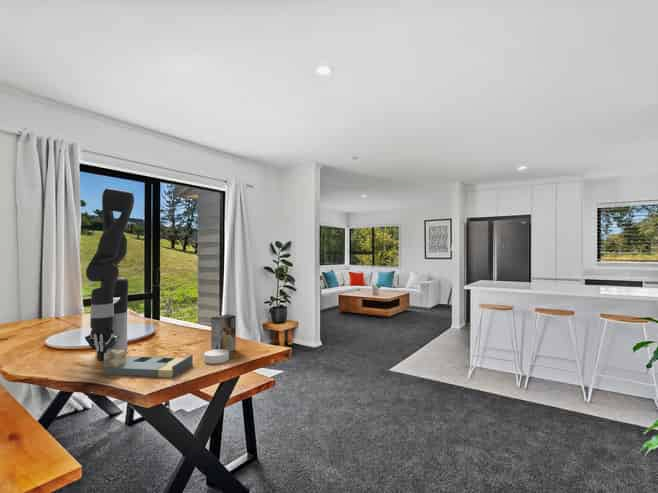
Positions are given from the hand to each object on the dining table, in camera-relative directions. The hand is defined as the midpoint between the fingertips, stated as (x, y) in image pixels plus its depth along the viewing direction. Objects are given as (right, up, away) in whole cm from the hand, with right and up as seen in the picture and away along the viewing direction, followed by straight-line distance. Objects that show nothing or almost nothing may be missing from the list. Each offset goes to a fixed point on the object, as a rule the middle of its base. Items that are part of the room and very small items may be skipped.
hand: (101, 360), depth 133 cm
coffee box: (+39, -5, +26) cm, 47 cm away
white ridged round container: (+40, -5, +14) cm, 42 cm away
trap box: (+17, -4, +2) cm, 18 cm away
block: (+6, -1, -1) cm, 6 cm away
